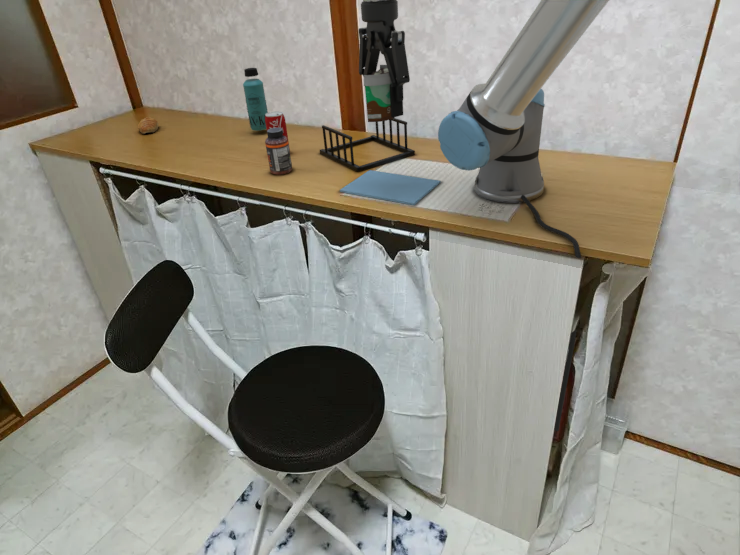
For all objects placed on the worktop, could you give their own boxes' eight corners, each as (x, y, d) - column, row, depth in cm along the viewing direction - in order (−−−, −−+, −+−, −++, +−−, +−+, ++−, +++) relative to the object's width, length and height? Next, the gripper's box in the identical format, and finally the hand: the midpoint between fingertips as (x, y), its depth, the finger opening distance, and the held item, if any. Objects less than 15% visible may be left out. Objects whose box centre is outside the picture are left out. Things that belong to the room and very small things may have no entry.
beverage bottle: (250, 131, 176) (238, 67, 165) (270, 128, 177) (259, 65, 167) (252, 136, 170) (240, 71, 160) (272, 133, 172) (262, 68, 161)
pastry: (159, 133, 182) (155, 121, 180) (138, 136, 180) (134, 125, 178) (159, 126, 189) (156, 115, 187) (139, 129, 188) (136, 118, 186)
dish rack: (414, 154, 145) (413, 123, 141) (357, 172, 137) (354, 139, 133) (373, 138, 160) (372, 110, 155) (319, 153, 152) (316, 124, 147)
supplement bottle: (268, 170, 143) (260, 128, 137) (289, 165, 145) (283, 124, 139) (272, 177, 138) (265, 134, 132) (295, 172, 140) (288, 130, 134)
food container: (392, 125, 113) (391, 76, 108) (365, 123, 115) (363, 75, 110) (407, 109, 123) (406, 64, 118) (382, 109, 125) (380, 64, 120)
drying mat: (440, 182, 127) (440, 180, 127) (414, 205, 117) (413, 203, 117) (369, 171, 137) (369, 169, 136) (339, 191, 127) (339, 189, 127)
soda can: (272, 158, 151) (265, 116, 144) (270, 152, 155) (262, 111, 149) (291, 155, 152) (285, 113, 145) (288, 150, 156) (282, 108, 150)
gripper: (426, -2, 101) (428, 117, 113) (365, -5, 116) (372, 100, 128) (394, 2, 97) (399, 125, 109) (336, -1, 113) (346, 107, 125)
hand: (385, 112), depth 119 cm, fingers closed on food container, 9 cm apart
